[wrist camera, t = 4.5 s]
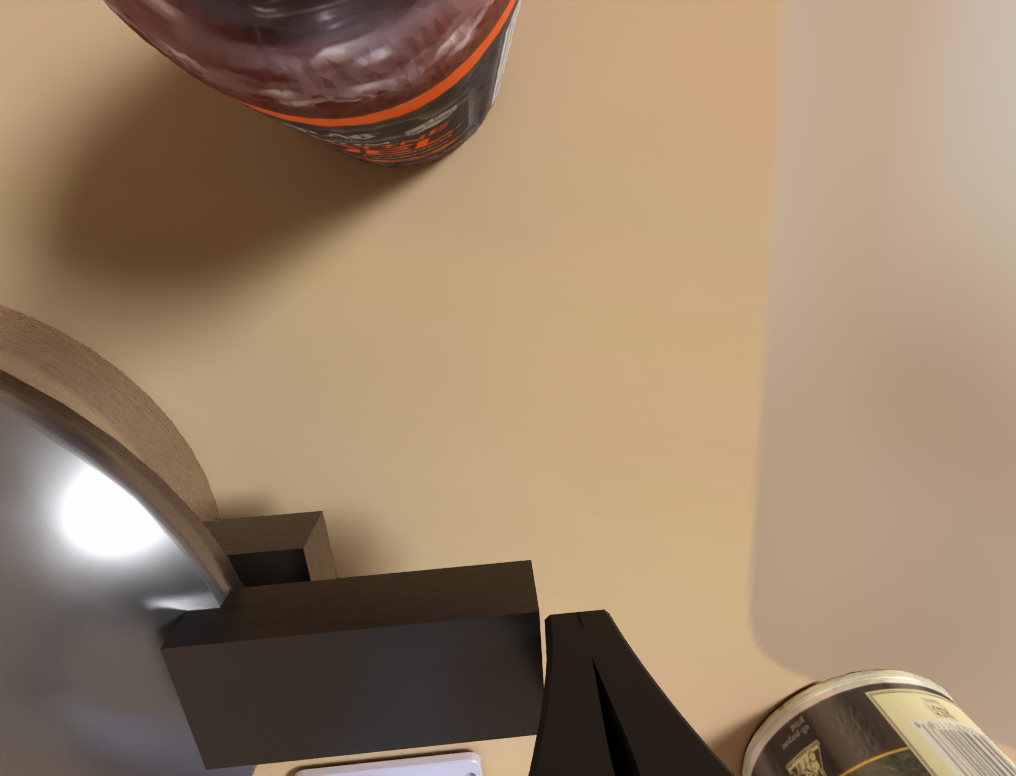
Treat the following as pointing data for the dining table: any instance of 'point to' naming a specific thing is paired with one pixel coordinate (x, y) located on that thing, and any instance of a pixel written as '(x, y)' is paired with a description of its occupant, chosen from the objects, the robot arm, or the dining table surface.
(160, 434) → the cooker pot
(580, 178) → the dining table surface
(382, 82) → the supplement bottle
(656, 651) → the dining table surface
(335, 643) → the cooker lid
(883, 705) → the coffee can
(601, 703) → the robot arm
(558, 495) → the dining table surface
